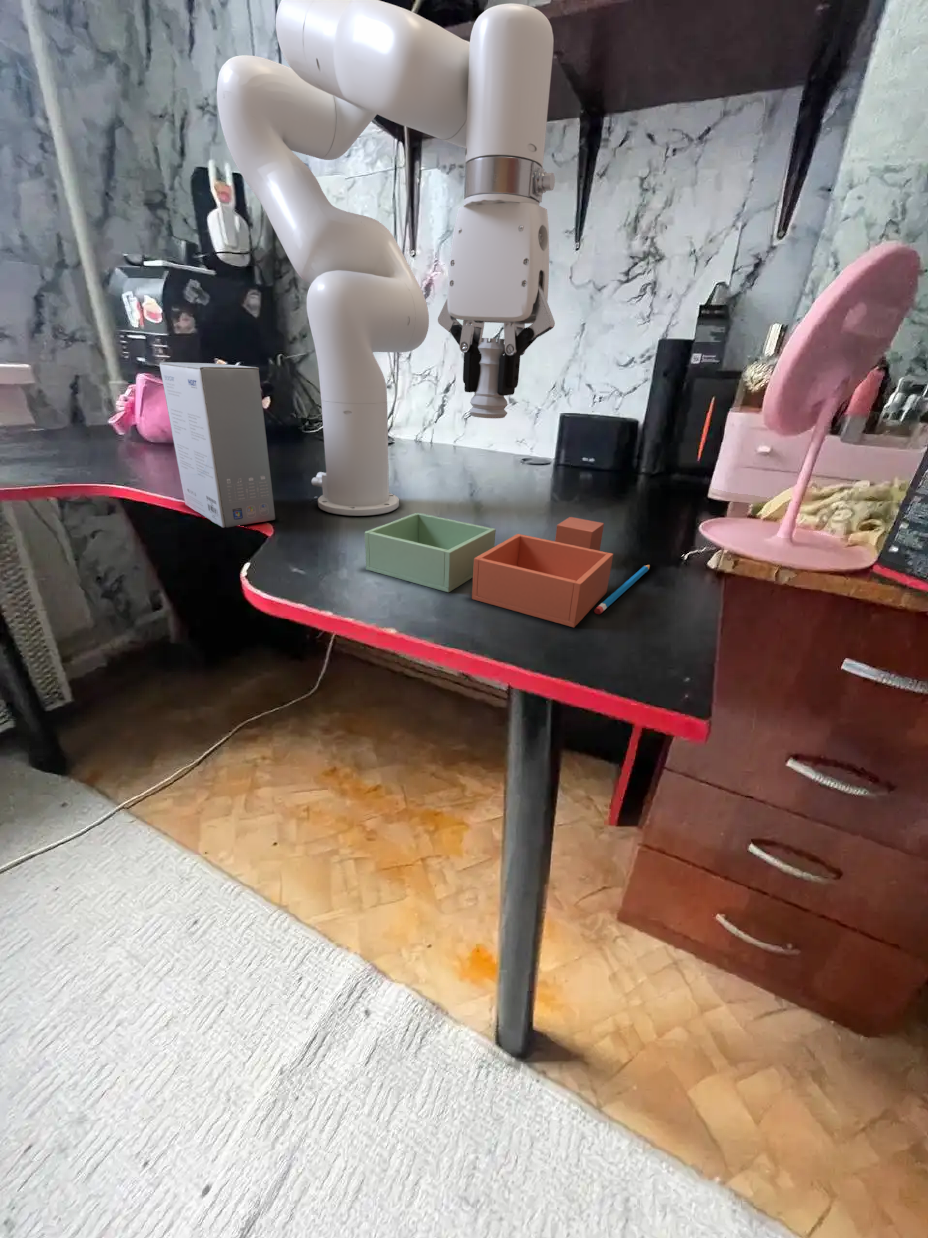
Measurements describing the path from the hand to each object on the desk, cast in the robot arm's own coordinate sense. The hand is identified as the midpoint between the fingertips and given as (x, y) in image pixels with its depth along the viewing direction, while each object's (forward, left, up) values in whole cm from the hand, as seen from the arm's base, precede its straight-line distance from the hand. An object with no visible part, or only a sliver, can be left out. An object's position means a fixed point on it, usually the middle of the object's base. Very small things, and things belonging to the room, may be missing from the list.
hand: (489, 391), depth 62 cm
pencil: (+19, -1, -19) cm, 27 cm away
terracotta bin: (+12, -9, -19) cm, 24 cm away
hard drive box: (-38, -8, -19) cm, 43 cm away
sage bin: (-2, -9, -19) cm, 21 cm away
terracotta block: (+11, +5, -19) cm, 23 cm away
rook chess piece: (0, 0, -3) cm, 3 cm away
